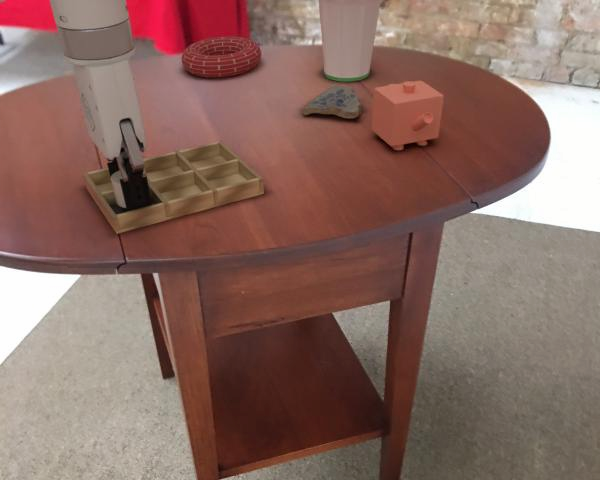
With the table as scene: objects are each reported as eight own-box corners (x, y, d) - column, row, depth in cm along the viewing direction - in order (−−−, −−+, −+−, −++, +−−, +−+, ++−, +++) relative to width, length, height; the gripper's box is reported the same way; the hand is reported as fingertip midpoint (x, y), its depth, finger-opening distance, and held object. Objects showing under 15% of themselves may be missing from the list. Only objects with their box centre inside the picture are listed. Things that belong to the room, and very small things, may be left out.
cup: (393, 71, 118) (401, -26, 107) (354, 91, 111) (358, -11, 100) (339, 58, 123) (341, -36, 112) (299, 76, 117) (297, -22, 106)
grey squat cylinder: (122, 211, 78) (116, 187, 76) (112, 197, 81) (106, 173, 79) (156, 202, 80) (151, 178, 77) (144, 188, 82) (139, 164, 80)
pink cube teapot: (400, 162, 91) (406, 102, 85) (365, 131, 99) (368, 74, 93) (448, 153, 93) (457, 94, 87) (409, 123, 101) (415, 67, 95)
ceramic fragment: (355, 115, 99) (299, 96, 101) (351, 135, 101) (297, 115, 104) (381, 92, 105) (328, 74, 108) (377, 111, 108) (325, 93, 110)
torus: (230, 49, 129) (228, 29, 126) (278, 64, 122) (277, 44, 119) (167, 68, 121) (163, 47, 118) (213, 86, 114) (211, 64, 111)
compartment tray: (116, 234, 78) (112, 217, 77) (86, 188, 87) (82, 173, 85) (264, 193, 85) (263, 178, 83) (222, 155, 94) (221, 140, 92)
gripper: (43, 25, 71) (86, 179, 84) (83, 68, 61) (124, 237, 74) (108, 15, 74) (140, 166, 87) (157, 54, 63) (185, 220, 76)
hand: (132, 197), depth 80 cm, fingers closed on grey squat cylinder, 4 cm apart
